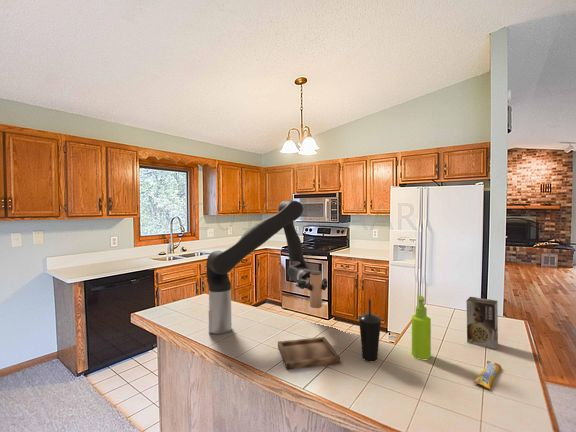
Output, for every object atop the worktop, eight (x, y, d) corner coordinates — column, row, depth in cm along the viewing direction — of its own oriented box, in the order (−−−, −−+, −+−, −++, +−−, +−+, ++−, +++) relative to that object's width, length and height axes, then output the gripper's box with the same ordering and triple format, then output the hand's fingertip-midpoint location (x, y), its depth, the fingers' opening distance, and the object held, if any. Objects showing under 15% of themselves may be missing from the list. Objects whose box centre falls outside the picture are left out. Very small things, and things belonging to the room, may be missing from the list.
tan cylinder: (311, 308, 115) (311, 273, 115) (308, 304, 119) (308, 270, 119) (323, 307, 116) (323, 272, 115) (319, 303, 120) (319, 270, 120)
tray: (286, 369, 92) (286, 363, 92) (277, 347, 108) (277, 341, 108) (340, 363, 96) (340, 357, 96) (324, 342, 111) (324, 336, 111)
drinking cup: (383, 365, 94) (382, 303, 94) (358, 362, 96) (358, 302, 96) (380, 353, 102) (380, 296, 102) (358, 351, 103) (357, 295, 103)
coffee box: (498, 343, 108) (498, 300, 108) (495, 350, 104) (495, 304, 104) (470, 336, 115) (470, 295, 114) (466, 342, 110) (466, 299, 110)
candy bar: (486, 364, 95) (486, 358, 95) (502, 369, 92) (502, 363, 92) (471, 386, 83) (471, 380, 83) (489, 393, 80) (489, 386, 80)
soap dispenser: (429, 351, 103) (428, 295, 103) (431, 361, 96) (431, 300, 96) (411, 349, 105) (410, 293, 105) (412, 358, 98) (412, 299, 98)
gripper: (291, 270, 130) (300, 279, 113) (321, 269, 133) (335, 277, 116) (291, 287, 130) (300, 298, 113) (321, 285, 133) (335, 296, 116)
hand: (317, 288), depth 115 cm, fingers closed on tan cylinder, 4 cm apart
